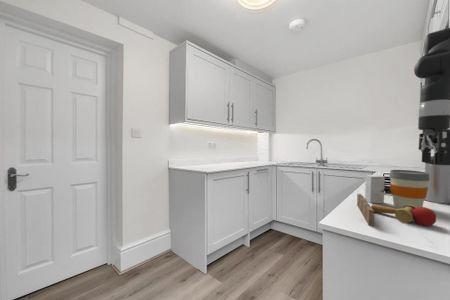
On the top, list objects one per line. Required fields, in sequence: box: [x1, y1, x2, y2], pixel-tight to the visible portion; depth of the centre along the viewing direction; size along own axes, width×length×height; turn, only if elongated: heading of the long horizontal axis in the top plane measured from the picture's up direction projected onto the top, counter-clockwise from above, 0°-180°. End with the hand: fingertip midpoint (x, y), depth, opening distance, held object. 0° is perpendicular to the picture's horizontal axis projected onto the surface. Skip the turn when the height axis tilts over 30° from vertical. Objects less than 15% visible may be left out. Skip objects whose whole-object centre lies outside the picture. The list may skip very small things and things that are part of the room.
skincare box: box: [364, 174, 386, 204], centre depth 94 cm, size 6×4×12 cm
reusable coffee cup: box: [389, 169, 429, 209], centre depth 87 cm, size 12×13×15 cm
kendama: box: [370, 203, 437, 227], centre depth 74 cm, size 8×6×18 cm
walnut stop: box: [356, 193, 375, 227], centre depth 78 cm, size 24×1×5 cm, turn 155°
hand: (432, 163), depth 69 cm, fingers open, 8 cm apart
